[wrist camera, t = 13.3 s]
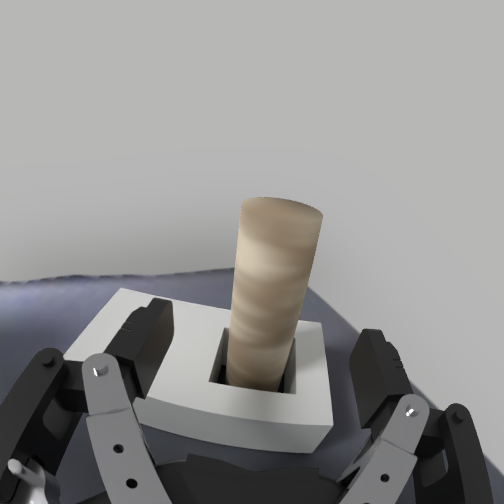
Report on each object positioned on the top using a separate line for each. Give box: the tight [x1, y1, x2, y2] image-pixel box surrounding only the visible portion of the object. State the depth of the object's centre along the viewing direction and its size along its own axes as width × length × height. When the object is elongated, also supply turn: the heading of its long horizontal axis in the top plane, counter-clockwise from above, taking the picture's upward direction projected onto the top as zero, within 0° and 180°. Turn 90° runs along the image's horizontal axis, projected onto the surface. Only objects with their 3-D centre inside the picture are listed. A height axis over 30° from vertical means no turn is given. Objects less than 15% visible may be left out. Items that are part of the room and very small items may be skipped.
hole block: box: [63, 288, 333, 453], centre depth 19 cm, size 18×10×4 cm, turn 84°
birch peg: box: [225, 197, 323, 393], centre depth 16 cm, size 4×4×15 cm
